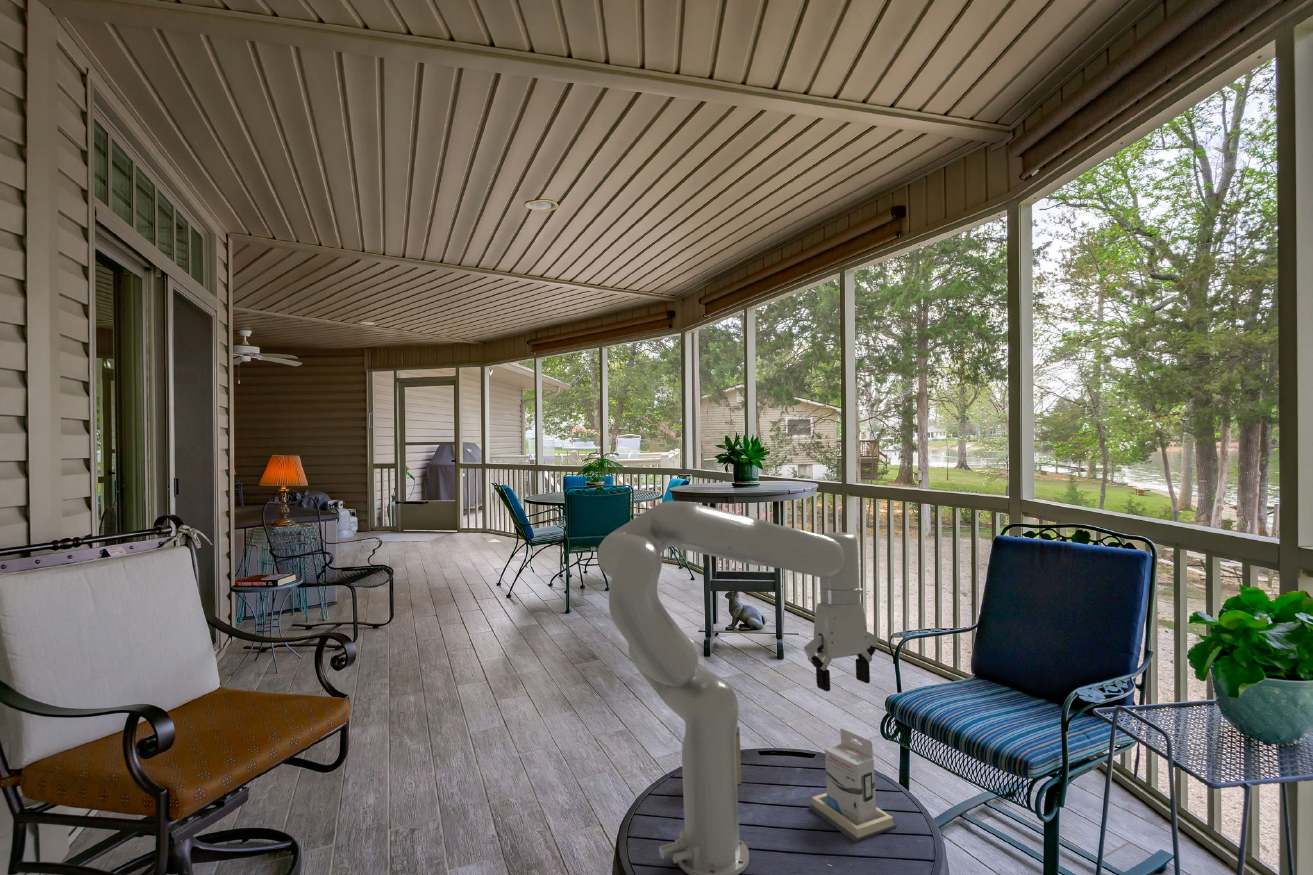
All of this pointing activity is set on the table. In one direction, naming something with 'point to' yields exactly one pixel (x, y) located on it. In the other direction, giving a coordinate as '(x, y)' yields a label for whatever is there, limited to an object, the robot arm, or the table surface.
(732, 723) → the robot arm
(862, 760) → the ink box
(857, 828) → the cream picture frame
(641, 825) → the table surface
